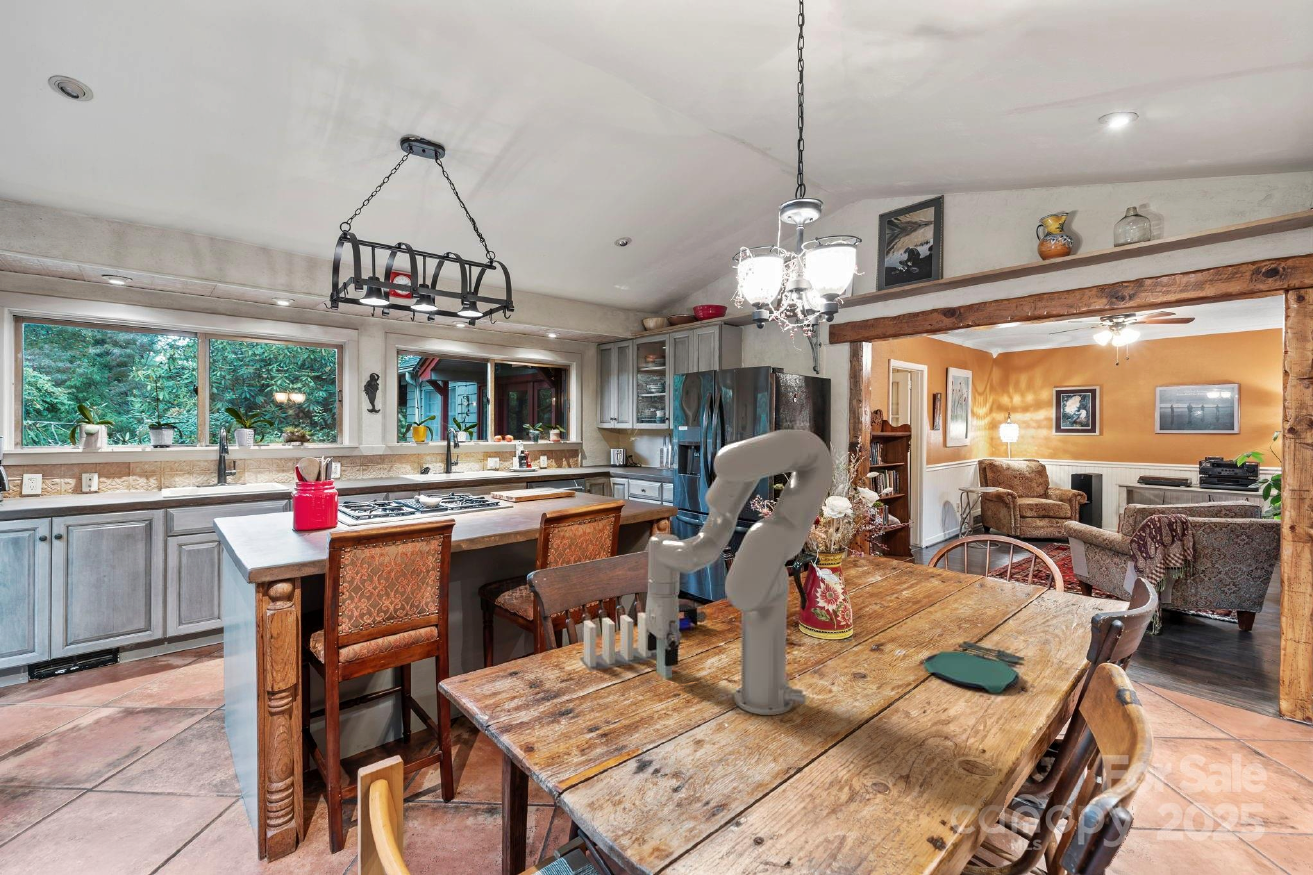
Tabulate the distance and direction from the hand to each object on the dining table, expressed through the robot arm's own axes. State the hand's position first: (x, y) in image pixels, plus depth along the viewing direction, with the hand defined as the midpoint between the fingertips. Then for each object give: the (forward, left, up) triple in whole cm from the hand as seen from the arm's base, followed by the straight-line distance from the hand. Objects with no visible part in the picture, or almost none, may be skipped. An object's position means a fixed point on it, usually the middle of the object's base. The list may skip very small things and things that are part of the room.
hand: (662, 657), depth 140 cm
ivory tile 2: (+13, -6, -4) cm, 14 cm away
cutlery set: (-69, -37, -5) cm, 78 cm away
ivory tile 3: (+16, -2, -4) cm, 16 cm away
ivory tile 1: (+9, -9, -4) cm, 14 cm away
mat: (+12, -6, -4) cm, 14 cm away
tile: (-1, 0, -4) cm, 4 cm away
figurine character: (+8, -31, -5) cm, 32 cm away
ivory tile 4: (+19, +2, -4) cm, 20 cm away
